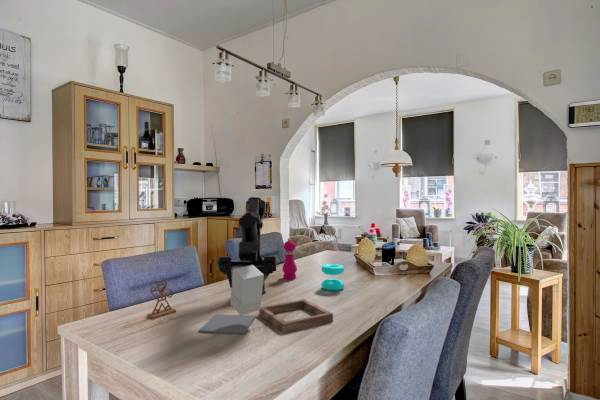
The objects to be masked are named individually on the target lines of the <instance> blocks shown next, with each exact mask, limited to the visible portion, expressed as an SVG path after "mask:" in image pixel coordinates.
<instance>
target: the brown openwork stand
mask: <svg viewBox="0 0 600 400" xmlns="http://www.w3.org/2000/svg"><path fill="white" fill-rule="evenodd" d="M162 281H163V282H162ZM160 282H162V283H160ZM155 286H156V287H155ZM155 286H151V287H150V290H149V291H150V294H151V296H153V297H156V303H155V306H154V308H153V310H152V312H150V313H147V315H146V318H147V319H150V320H156V319H159V318H162V317H165V316H166V317H167V316H168V315H171V314H175V313H177V309H176V308H173V307H171V305H170V303H169V301H168V300H167V298H169V299H170V298H172V297H173V296H174V294H173V290H171V288H168V287H167V286H168V283H167V281H166V280H164V279H160V280H158V281H157V283H156V285H155ZM161 286H162V287H161ZM166 290H168V291H169V293H166V292H165V291H166ZM154 292H157V293H159V295H155V294H154ZM160 295H161V296H160ZM163 295H164V297H163ZM163 301H165V303H166V304H167V305H166V306H165V305H164V303H163ZM159 303H160V305H159ZM158 305H159V307H158ZM157 307H158V308H157ZM161 308H163V309H161Z"/></svg>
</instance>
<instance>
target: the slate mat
mask: <svg viewBox="0 0 600 400" xmlns="http://www.w3.org/2000/svg"><path fill="white" fill-rule="evenodd" d="M256 318H257V316H256V315H248V314H245V315H241V316H240V315H239V314H219V313H217V314H216V313H215V314H214V315H213V316H212V317H211V318H210V319H209V320H208V321H206V323H205V324H204V325H202V326H201V327H200V329H198V333H203V334H206V333H207V334H223V335H224V334H225V335H226V334H227V335H228V334H229V335H230V334H231V335H245V334H246V333H247V331H248V329H249V328H250V327H251V326H252V323H254V321H255V320H256Z"/></svg>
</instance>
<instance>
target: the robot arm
mask: <svg viewBox="0 0 600 400" xmlns="http://www.w3.org/2000/svg"><path fill="white" fill-rule="evenodd" d="M266 212H267V204H266V201H264V200H262V198H261V197H259V196H258V197H256V196H253V197H252V196H251V197H248V200H246V201H245V214H242V216H241V217H240V218H239V219H238V222H237V223H238V224H237V225H238V229H239V232H240V236H241V241H239V243H238V258H239V260H237V259H236V260H234V259H233V260H232V256H230V255H229V256H227V255H226V256H223V255H222V256H220V257H219V258H218V260H217V266H218V269H219V272H220V273H222V274H223V275H226V277H227V280H228V283H229V284H228V285H229V288H231V289H232V274H233V268H234V267H235V268H240V267H245V266H249V265H254V266H255V267H256V268H257V269H258V270H259V271H260V272H261V273H263V274H264V279H263V289H262V295H264V294H266V292H267V291H266V290H265V289H266V288H265V287H266V286H265V282H266V280H267V279H268V277H269V275H270V274H273V272H276V271H277V257H276V256H275V255H263V258H262V256H261V235H262V234H261V232H262V231H261V230H262V229H263V227H264V222H263V220H264V218H265V213H266Z"/></svg>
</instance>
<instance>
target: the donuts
mask: <svg viewBox="0 0 600 400" xmlns="http://www.w3.org/2000/svg"><path fill="white" fill-rule="evenodd" d="M344 271H345V267H344V266H343V265H341V264H338V263H337V264H336V263H327V264H324V265H322V266H321V272H322V273H324V274H325V275H330V276H338V275H341V274H343V273H344ZM344 287H345V283H344V282H343V280H340V279H338V278H327V279H324V280H322V282H321V288H322V289H324V290H327V291H340V290H343V289H345V288H344Z"/></svg>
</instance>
